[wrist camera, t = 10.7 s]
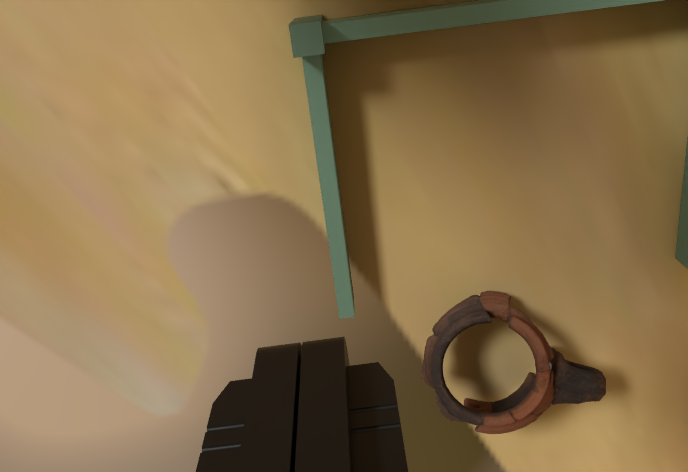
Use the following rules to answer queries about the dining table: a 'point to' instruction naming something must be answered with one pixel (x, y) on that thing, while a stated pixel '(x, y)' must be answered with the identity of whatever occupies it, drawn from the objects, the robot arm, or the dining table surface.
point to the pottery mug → (537, 391)
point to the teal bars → (314, 32)
